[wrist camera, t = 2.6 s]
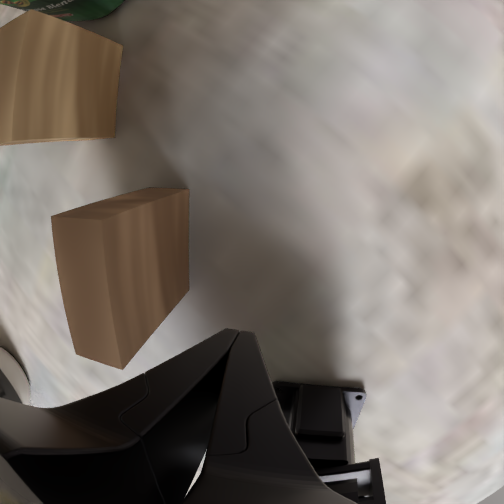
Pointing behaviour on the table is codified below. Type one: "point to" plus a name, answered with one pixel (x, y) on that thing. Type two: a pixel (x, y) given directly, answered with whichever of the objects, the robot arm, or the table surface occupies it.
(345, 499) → the robot arm
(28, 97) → the tan wooden block
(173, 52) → the table surface
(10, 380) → the dark rounded piece
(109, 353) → the brown wooden block
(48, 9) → the coffee jar
